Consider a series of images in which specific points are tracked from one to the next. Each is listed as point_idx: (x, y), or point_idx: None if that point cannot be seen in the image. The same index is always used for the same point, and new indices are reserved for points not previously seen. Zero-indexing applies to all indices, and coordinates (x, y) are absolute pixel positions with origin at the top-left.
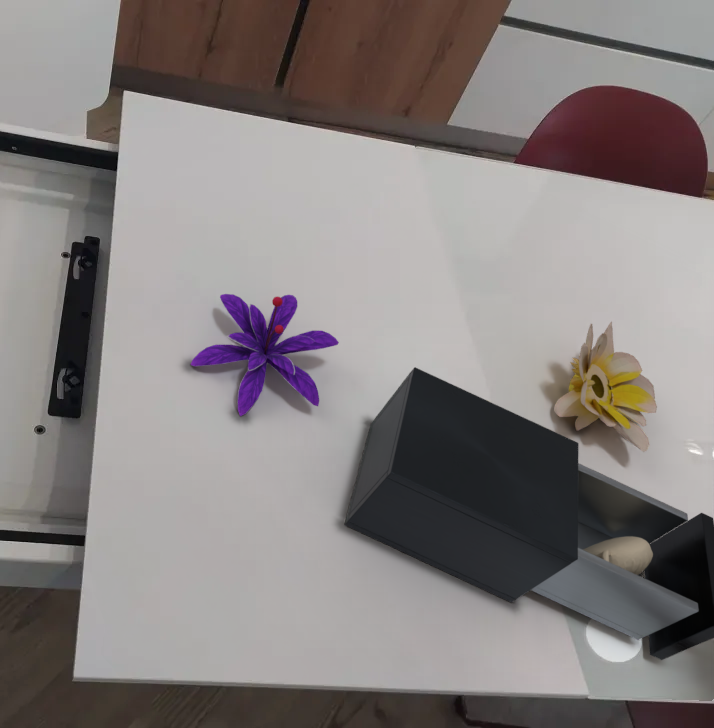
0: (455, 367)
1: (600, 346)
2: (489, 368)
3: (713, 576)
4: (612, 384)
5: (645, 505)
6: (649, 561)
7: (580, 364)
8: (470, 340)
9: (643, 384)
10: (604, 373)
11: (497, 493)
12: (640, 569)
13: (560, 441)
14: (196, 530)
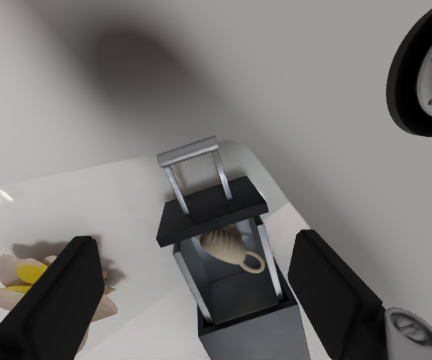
0: (142, 332)
1: None
2: (119, 322)
3: (222, 224)
4: None
5: (192, 274)
6: (225, 243)
7: (85, 337)
8: (110, 337)
9: (5, 271)
10: None
11: (286, 346)
12: (236, 244)
13: (210, 343)
14: None
